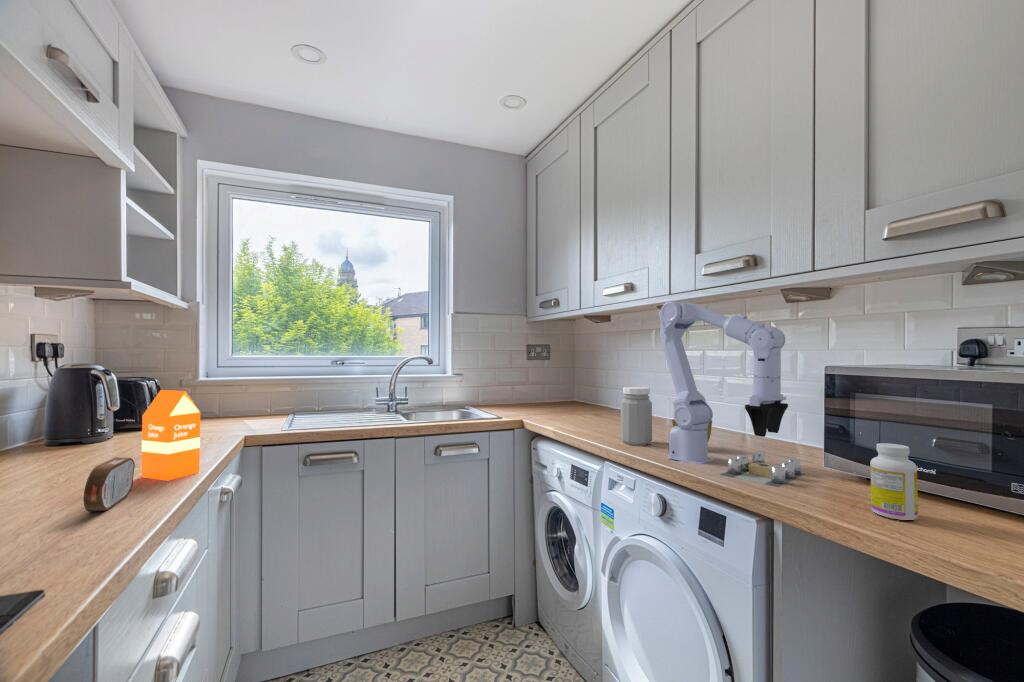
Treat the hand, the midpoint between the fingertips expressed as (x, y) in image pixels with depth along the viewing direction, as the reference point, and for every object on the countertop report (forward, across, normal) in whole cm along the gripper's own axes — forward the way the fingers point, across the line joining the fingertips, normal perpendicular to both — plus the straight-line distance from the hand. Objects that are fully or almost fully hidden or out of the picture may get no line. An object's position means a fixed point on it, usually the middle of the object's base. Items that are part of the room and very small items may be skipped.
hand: (766, 434), depth 110 cm
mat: (+10, 0, +1) cm, 10 cm away
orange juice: (+11, -109, +91) cm, 142 cm away
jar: (+11, +10, +43) cm, 46 cm away
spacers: (+10, +1, +1) cm, 10 cm away
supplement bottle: (+10, -10, -26) cm, 29 cm away
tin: (+11, -119, +72) cm, 140 cm away
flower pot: (+11, +16, +27) cm, 33 cm away
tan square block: (+10, 0, +1) cm, 10 cm away
